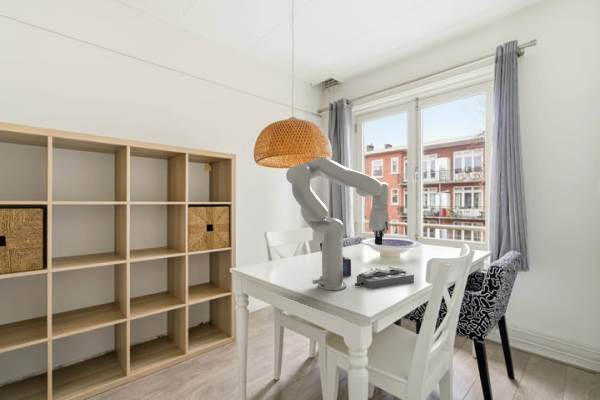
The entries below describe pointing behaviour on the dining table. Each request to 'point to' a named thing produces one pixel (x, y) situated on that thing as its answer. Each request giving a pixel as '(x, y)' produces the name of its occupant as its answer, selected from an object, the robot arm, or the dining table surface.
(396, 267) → the rocker
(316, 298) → the dining table surface
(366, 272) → the rocker
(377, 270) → the rocker
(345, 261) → the flask
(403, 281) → the power strip
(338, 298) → the dining table surface
